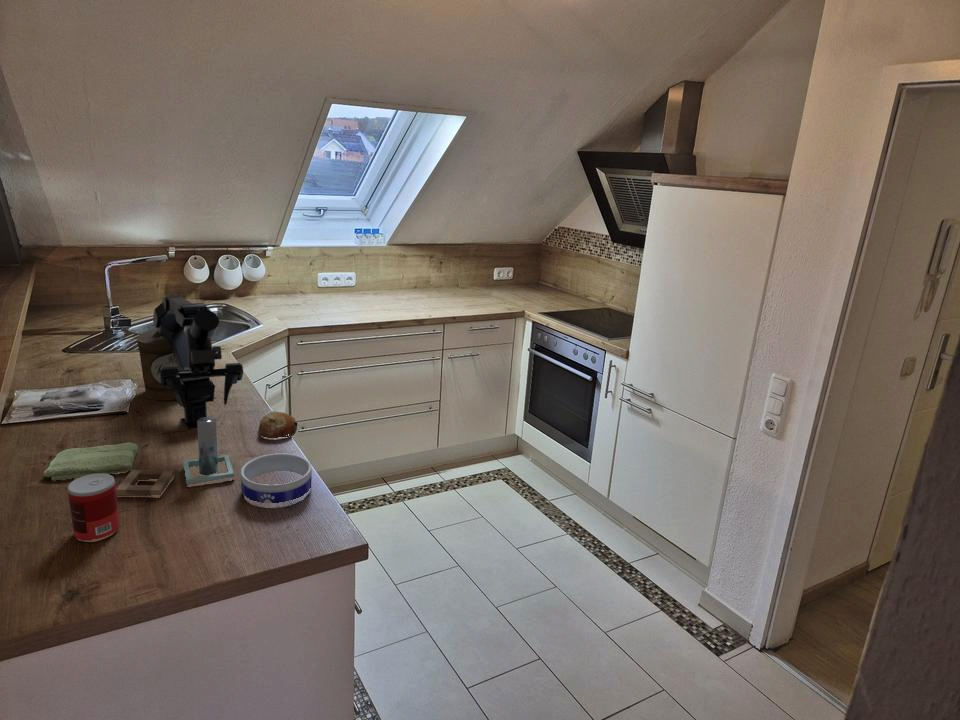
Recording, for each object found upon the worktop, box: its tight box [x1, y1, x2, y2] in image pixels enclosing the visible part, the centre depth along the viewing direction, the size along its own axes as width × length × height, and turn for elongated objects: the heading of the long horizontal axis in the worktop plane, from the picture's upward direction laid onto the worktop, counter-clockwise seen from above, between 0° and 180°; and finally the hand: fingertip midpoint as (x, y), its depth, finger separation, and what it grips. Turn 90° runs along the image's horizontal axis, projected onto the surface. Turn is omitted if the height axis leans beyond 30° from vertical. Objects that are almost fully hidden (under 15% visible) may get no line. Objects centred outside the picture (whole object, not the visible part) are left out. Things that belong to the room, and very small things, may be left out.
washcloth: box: [43, 442, 139, 481], centre depth 150 cm, size 13×18×3 cm
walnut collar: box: [116, 469, 175, 496], centre depth 143 cm, size 9×9×2 cm
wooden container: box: [136, 328, 189, 401], centre depth 191 cm, size 15×15×22 cm
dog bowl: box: [240, 452, 313, 503], centre depth 145 cm, size 15×15×6 cm
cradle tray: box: [182, 454, 235, 485], centre depth 150 cm, size 10×10×2 cm
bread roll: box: [257, 410, 298, 438], centre depth 174 cm, size 10×10×8 cm
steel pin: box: [197, 416, 218, 475], centre depth 149 cm, size 4×4×13 cm
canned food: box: [67, 473, 121, 540], centre depth 125 cm, size 8×8×11 cm
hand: (205, 406), depth 157 cm, fingers open, 9 cm apart
